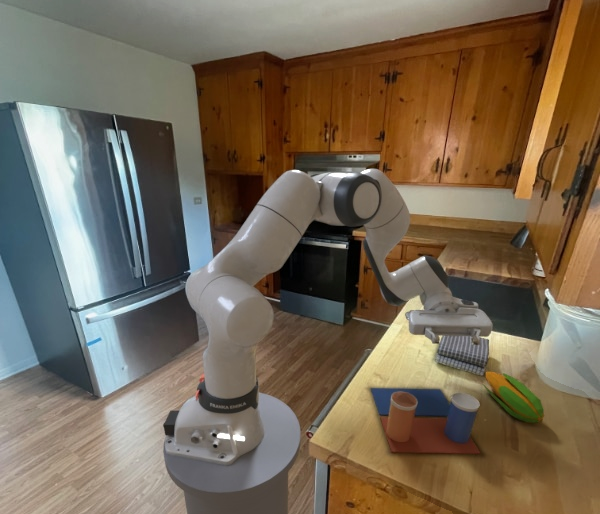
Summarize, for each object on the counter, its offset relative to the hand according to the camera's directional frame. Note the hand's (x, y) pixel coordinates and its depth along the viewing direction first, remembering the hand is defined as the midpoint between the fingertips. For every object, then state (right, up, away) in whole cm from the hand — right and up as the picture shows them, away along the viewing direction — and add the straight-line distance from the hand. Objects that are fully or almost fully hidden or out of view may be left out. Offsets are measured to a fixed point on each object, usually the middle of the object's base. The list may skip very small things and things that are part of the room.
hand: (456, 342), depth 80 cm
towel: (+16, -9, +31) cm, 36 cm away
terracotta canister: (-15, -22, -2) cm, 26 cm away
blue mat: (-8, -17, +9) cm, 21 cm away
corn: (+18, -18, +10) cm, 27 cm away
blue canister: (-1, -22, -2) cm, 22 cm away
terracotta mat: (-8, -22, -2) cm, 23 cm away
